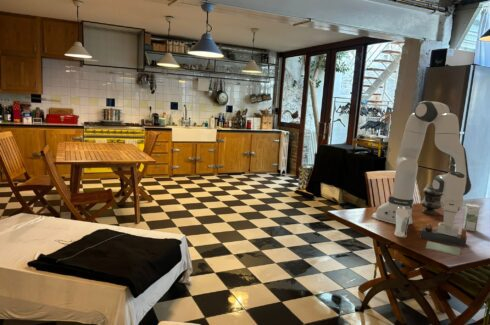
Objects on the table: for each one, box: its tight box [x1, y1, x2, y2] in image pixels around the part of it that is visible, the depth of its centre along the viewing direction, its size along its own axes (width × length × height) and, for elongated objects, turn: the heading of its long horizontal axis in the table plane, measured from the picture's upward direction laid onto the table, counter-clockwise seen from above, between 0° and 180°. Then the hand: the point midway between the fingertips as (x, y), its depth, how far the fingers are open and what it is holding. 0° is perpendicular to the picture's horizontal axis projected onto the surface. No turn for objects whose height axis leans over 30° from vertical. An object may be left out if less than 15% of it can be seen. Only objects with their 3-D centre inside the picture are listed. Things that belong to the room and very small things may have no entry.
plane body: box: [419, 222, 468, 248], centre depth 183 cm, size 20×7×8 cm, turn 57°
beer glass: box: [393, 206, 411, 239], centre depth 186 cm, size 7×7×15 cm
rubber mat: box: [425, 240, 461, 257], centre depth 172 cm, size 14×10×1 cm
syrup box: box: [462, 202, 480, 232], centre depth 202 cm, size 6×6×14 cm
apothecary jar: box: [420, 183, 444, 216], centre depth 233 cm, size 12×12×18 cm
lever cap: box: [436, 221, 460, 237], centre depth 181 cm, size 9×5×5 cm, turn 57°
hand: (447, 230), depth 181 cm, fingers closed on lever cap, 5 cm apart
